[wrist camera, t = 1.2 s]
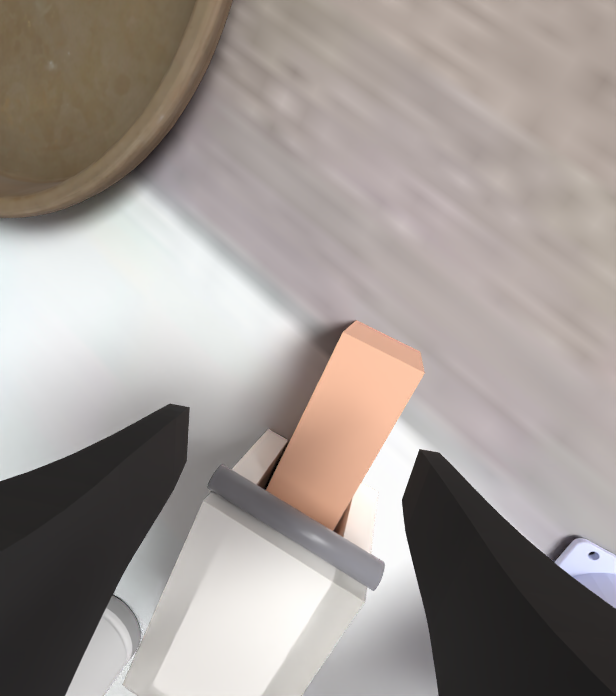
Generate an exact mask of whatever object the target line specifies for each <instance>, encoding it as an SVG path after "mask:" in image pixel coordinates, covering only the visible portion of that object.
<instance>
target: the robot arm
mask: <svg viewBox="0 0 616 696" xmlns="http://www.w3.org/2000/svg"><path fill="white" fill-rule="evenodd" d="M189 408H190V407H185V406H180V405H174V404H169V405H167V406H165V407H163V408H161V409H159V410H157V411H155V412H154V413H152V414H150V415H148V416H146V417H145V418H143V419H141V420H139V421H137V422H136V423H134V424H132V425H130V426H128V427H126V428H124V429H123V430H121V431H119V432H117V433H115V434H113V435H111V436H109V437H107V438H105V439H103V440H101V441H99V442H97V443H95V444H93V445H91V446H89V447H87V448H85V449H82V450H80V451H78V452H76V453H74V454H72V455H69V456H67V457H65V458H62V459H60V460H58V461H55V462H53V463H50V464H48V465H45V466H42V467H40V468H37V469H35V470H32V471H29V472H27V473H24V474H21V475H18V476H15V477H12V478H9V479H6V480H3V481H0V696H65V695H66V693H67V691H68V688H69V686H70V684H71V682H72V680H73V677H74V675H75V673H76V671H77V669H78V666H79V664H80V662H81V660H82V658H83V655H84V653H85V651H86V649H87V647H88V645H89V643H90V641H91V639H92V636H93V634H94V632H95V630H96V628H97V626H98V624H99V622H100V620H101V617H102V615H103V613H104V611H105V609H106V607H107V605H108V603H109V601H110V599H111V597H112V595H113V593H114V591H115V589H116V587H117V585H118V583H119V581H120V579H121V577H122V575H123V573H124V571H125V570H126V568H127V566H128V564H129V563H130V561H131V559H132V557H133V556H134V554H135V552H136V551H137V549H138V548H139V546H140V544H141V543H142V541H143V539H144V538H145V536H146V535H147V533H148V531H149V530H150V528H151V526H152V525H153V523H154V521H155V520H156V518H157V517H158V515H159V513H160V512H161V510H162V508H163V507H164V505H165V503H166V502H167V500H168V498H169V497H170V495H171V493H172V492H173V490H174V488H175V486H176V483H177V481H178V479H179V477H180V475H181V472H182V470H183V468H184V466H185V463H186V461H187V444H188V426H189ZM402 506H403V515H404V524H405V531H406V536H407V541H408V545H409V549H410V553H411V557H412V561H413V565H414V569H415V573H416V577H417V581H418V585H419V589H420V593H421V597H422V601H423V605H424V609H425V614H426V618H427V623H428V628H429V633H430V639H431V646H432V652H433V659H434V665H435V672H436V679H437V686H438V693H439V696H616V555H614V554H613V553H611V552H609V551H607V550H605V549H603V548H602V547H600V546H598V545H596V544H594V543H592V542H591V541H589V540H587V539H584V538H578V539H575V540H574V541H572V542H571V544H570V545H569V546H568V547H567V548H566V549H565V551H564V552H563V553H562V554H561V555H560V556H559V558H558V559H557V560H556V561H555V562H553V561H552V560H551V559H550V558H548V557H547V556H546V555H545V554H544V553H542V552H541V551H540V550H539V549H537V548H536V547H535V546H534V545H533V544H532V543H531V542H529V541H528V540H527V539H526V538H525V537H524V536H523V535H521V534H520V533H519V532H518V531H517V530H516V529H515V528H514V527H513V526H512V525H511V524H510V523H509V522H508V521H506V520H505V519H504V518H503V517H502V516H501V515H500V514H499V513H498V512H497V511H496V510H495V509H494V508H493V507H492V506H491V505H490V504H489V503H488V502H487V501H486V500H485V499H484V498H483V497H482V496H481V495H480V494H479V493H478V492H477V491H476V490H475V489H474V488H473V487H472V486H471V485H470V484H469V483H468V481H467V480H466V479H465V478H464V477H463V476H462V475H461V474H460V473H459V472H458V471H457V470H456V469H455V468H454V467H453V466H452V465H451V464H450V463H449V462H448V461H447V460H446V459H445V458H444V457H443V456H442V455H441V454H440V453H438V452H432V451H427V450H421V449H419V452H418V455H417V458H416V461H415V464H414V467H413V470H412V472H411V475H410V478H409V481H408V484H407V487H406V490H405V493H404V495H403V498H402ZM590 552H595V554H593V555H588V554H589V553H590Z"/></svg>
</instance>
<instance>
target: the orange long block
mask: <svg viewBox="0 0 616 696" xmlns="http://www.w3.org/2000/svg"><path fill="white" fill-rule="evenodd" d="M424 373H425V372H424V367H423V363H422V358H421V354H420V351H418V350H416V349H414V348H412V347H410V346H407V345H405V344H403V343H401V342H399V341H397V340H395V339H393V338H391V337H389V336H387V335H385V334H383V333H381V332H379V331H377V330H375V329H373V328H371V327H369V326H367V325H365V324H363V323H361V322H359V321H357V320H356V321H355V322H354V323H353V324H351V325H350V326H349V327H348V328H347V329H346V330H345V331H343V333H342V335H341V337H340V339H339V341H338V343H337V345H336V347H335V349H334V351H333V353H332V355H331V357H330V359H329V361H328V364H327V366H326V368H325V370H324V372H323V374H322V376H321V378H320V380H319V382H318V384H317V386H316V388H315V390H314V392H313V394H312V396H311V398H310V400H309V403H308V405H307V407H306V409H305V411H304V413H303V415H302V417H301V419H300V421H299V423H298V425H297V427H296V429H295V431H294V433H293V435H292V437H291V439H290V442H289V444H288V446H287V448H286V450H285V452H284V454H283V456H282V458H281V460H280V462H279V464H278V466H277V468H276V470H275V472H274V474H273V476H272V478H271V481H270V483H269V485H268V487H267V489H266V491H268V492H269V493H271V494H273V495H274V496H276V497H278V498H279V499H281V500H283V501H284V502H286V503H287V504H289V505H291V506H292V507H294V508H296V509H297V510H299V511H301V512H302V513H304V514H306V515H307V516H309V517H311V518H312V519H314V520H316V521H317V522H319V523H321V524H322V525H324V526H325V527H327V528H329V529H330V530H332V531H333V530H334V528H335V527H336V525H337V523H338V522H339V520H340V518H341V516H342V515H343V513H344V511H345V510H346V508H347V506H348V504H349V503H350V501H351V499H352V497H353V496H354V494H355V492H356V491H357V489H358V487H359V485H360V484H361V482H362V480H363V478H364V477H365V475H366V473H367V472H368V470H369V468H370V466H371V465H372V463H373V461H374V460H375V458H376V456H377V454H378V453H379V451H380V449H381V447H382V446H383V444H384V442H385V441H386V439H387V437H388V435H389V434H390V432H391V430H392V428H393V427H394V425H395V423H396V422H397V420H398V418H399V416H400V415H401V413H402V411H403V410H404V408H405V406H406V404H407V403H408V401H409V399H410V397H411V396H412V394H413V392H414V391H415V389H416V387H417V385H418V384H419V382H420V380H421V379H422V377H423V375H424Z"/></svg>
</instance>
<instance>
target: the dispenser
mask: <svg viewBox="0 0 616 696" xmlns="http://www.w3.org/2000/svg"><path fill="white" fill-rule="evenodd" d="M287 441H288V440H287V439H285V438H283V437H282V436H280V435H278V434H276V433H275V432H273V431H271V430H270V429H268V430H267V431H266V432H265V433H264V434H263V435H262V436H261V437H260V438H259V440H258V441H257V442H256V443H255V444H254V445H253V446H252V447H251V448H250V449H249V451H248V452H247V453H246V454H245V455H244V456H243V457H242V458H241V459H240V461H239V462H238V463H237V464H236V465H235V466H234V467H233V468H232V469H230V468H228V467H226V466H225V465H223V464H222V465H220V466H219V467H218V469H217V470H216V471H215V473H214V474H213V476H212V477H211V479H210V481H209V483H208V486H207V488H208V489H210V490H212V491H211V492H210V494H209V495H208V496H207V497H206V498H205V499H204V500H203V502H202V504H201V507H200V509H199V511H198V514H197V516H196V518H195V520H194V523H193V525H192V527H191V529H190V532H189V534H188V536H187V539H186V541H185V543H184V545H183V548H182V550H181V552H180V555H179V557H178V559H177V561H176V564H175V566H174V568H173V570H172V573H171V575H170V577H169V580H168V582H167V584H166V586H165V589H164V591H163V593H162V595H161V598H160V600H159V602H158V605H157V607H156V609H155V611H154V614H153V616H152V618H151V620H150V623H149V625H148V627H147V630H146V632H145V634H144V636H143V639H142V641H141V643H140V646H139V648H138V650H137V652H136V655H135V657H134V659H133V661H132V664H131V666H130V668H129V671H128V673H127V675H126V677H125V680H124V682H123V684H122V685H123V686H125V687H126V688H127V689H129V690H130V691H131V692H133V693H134V694H135V695H137V696H302V695H303V693H304V692H305V690H306V689H307V687H308V686H309V684H310V683H311V681H312V680H313V678H314V677H315V675H316V674H317V672H318V671H319V670H320V668H321V667H322V665H323V664H324V662H325V661H326V659H327V658H328V656H329V655H330V653H331V652H332V650H333V649H334V647H335V646H336V645H337V643H338V642H339V640H340V639H341V637H342V636H343V634H344V633H345V631H346V630H347V628H348V627H349V625H350V624H351V622H352V621H353V620H354V618H355V617H356V615H357V614H358V612H359V611H360V609H361V608H362V606H363V605H364V603H365V600H366V591H367V587H368V588H369V589H371V590H373V591H374V590H375V589H376V588H377V586H378V585H379V583H380V581H381V578H382V576H383V572H384V567H385V564H384V562H383V561H382V560H380V559H378V558H377V557H375V556H373V555H372V554H371V550H372V541H373V533H374V525H375V516H376V508H377V500H378V492H377V491H376V490H374V489H372V488H370V487H369V486H367V485H365V484H363V483H362V482H361V484H360V485H359V487H358V489H357V491H356V492H355V494H354V496H353V497H352V499H351V501H350V503H349V504H348V506H347V508H346V510H345V511H344V513H343V515H342V516H341V518H340V520H339V522H338V523H337V525H336V527H335V528H334V530H333V531H332V530H330V529H329V528H327V527H325V526H324V525H322V524H321V523H319V522H317V521H316V520H314V519H312V518H311V517H309V516H307V515H306V514H304V513H302V512H301V511H299V510H297V509H296V508H294V507H292V506H291V505H289V504H287V503H286V502H284V501H283V500H281V499H279V498H278V497H276V496H274V495H273V494H271V493H269V492H268V491H266V490H264V488H265V486H266V484H267V482H268V480H269V478H270V476H271V474H272V472H273V470H274V468H275V465H276V463H277V461H278V459H279V457H280V455H281V453H282V451H283V449H284V447H285V445H286V443H287Z"/></svg>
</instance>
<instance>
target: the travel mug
mask: <svg viewBox="0 0 616 696" xmlns="http://www.w3.org/2000/svg"><path fill="white" fill-rule="evenodd" d="M140 639H141V632H140V627H139V624H138V621H137V619H136V617H135V615H134V614H133V612H132V611H131V610H130V608H129V607H128V606H127V605H126V604H125V603H124V602H122V601H121V600H120V599H118V598H116V597H115V596H112V597H111V599H110V601H109V603H108V605H107V607H106V609H105V611H104V613H103V615H102V617H101V620H100V622H99V624H98V626H97V628H96V630H95V632H94V634H93V636H92V639H91V641H90V643H89V645H88V647H87V649H86V651H85V653H84V655H83V658H82V660H81V662H80V664H79V666H78V669H77V671H76V673H75V675H74V677H73V680H72V682H71V684H70V686H69V688H68V691H67V693H66V695H65V696H104V694H105V693H106V692H107V690H108V689H109V688H110V686H111V685H112V683H113V682H114V681H115V679H116V678H117V676H118V675H119V674H120V672H121V671H122V669H123V667H124V666H125V665H126V664H127V663H128V661H129V660H130V658H131V657H132V656H133V654H134V653H135V651H136V650H137V648H138V647H139V644H140Z"/></svg>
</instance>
